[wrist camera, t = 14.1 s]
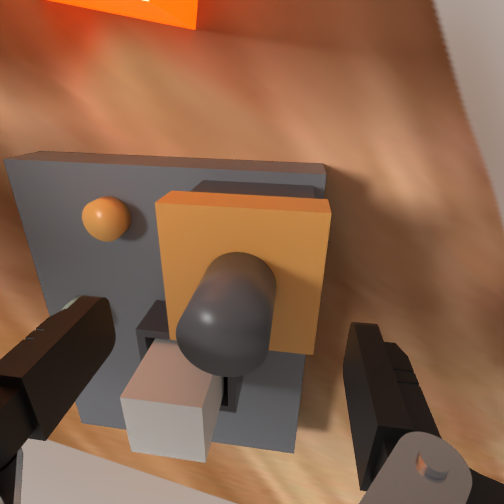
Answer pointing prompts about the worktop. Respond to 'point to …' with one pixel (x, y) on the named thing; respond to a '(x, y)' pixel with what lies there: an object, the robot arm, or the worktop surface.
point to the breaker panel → (148, 269)
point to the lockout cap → (241, 275)
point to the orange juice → (146, 10)
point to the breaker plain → (171, 404)
